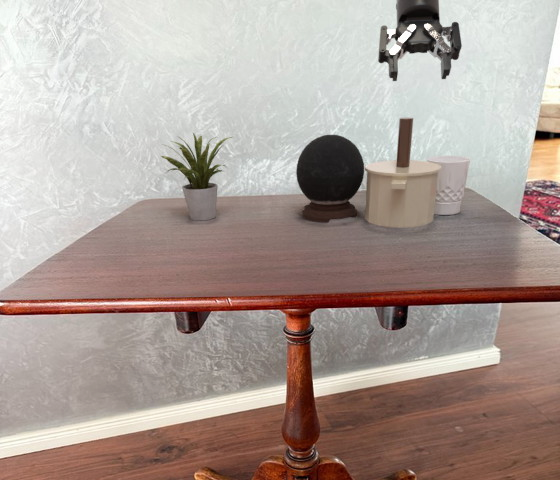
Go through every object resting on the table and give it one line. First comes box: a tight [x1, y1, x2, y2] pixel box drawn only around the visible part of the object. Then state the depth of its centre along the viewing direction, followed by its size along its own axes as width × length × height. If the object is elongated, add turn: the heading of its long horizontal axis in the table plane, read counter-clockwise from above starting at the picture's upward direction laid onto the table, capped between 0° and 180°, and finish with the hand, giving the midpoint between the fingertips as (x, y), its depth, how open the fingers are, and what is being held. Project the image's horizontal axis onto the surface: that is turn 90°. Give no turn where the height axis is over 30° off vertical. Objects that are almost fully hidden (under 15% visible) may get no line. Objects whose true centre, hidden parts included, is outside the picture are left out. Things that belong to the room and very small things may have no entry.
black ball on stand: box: [296, 134, 365, 223], centre depth 106 cm, size 13×13×15 cm
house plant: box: [160, 132, 233, 222], centre depth 108 cm, size 14×14×16 cm
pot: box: [364, 171, 438, 229], centre depth 101 cm, size 13×18×10 cm
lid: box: [364, 117, 441, 176], centre depth 97 cm, size 14×14×9 cm
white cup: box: [426, 155, 471, 216], centre depth 107 cm, size 8×8×10 cm
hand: (420, 76), depth 95 cm, fingers open, 8 cm apart
